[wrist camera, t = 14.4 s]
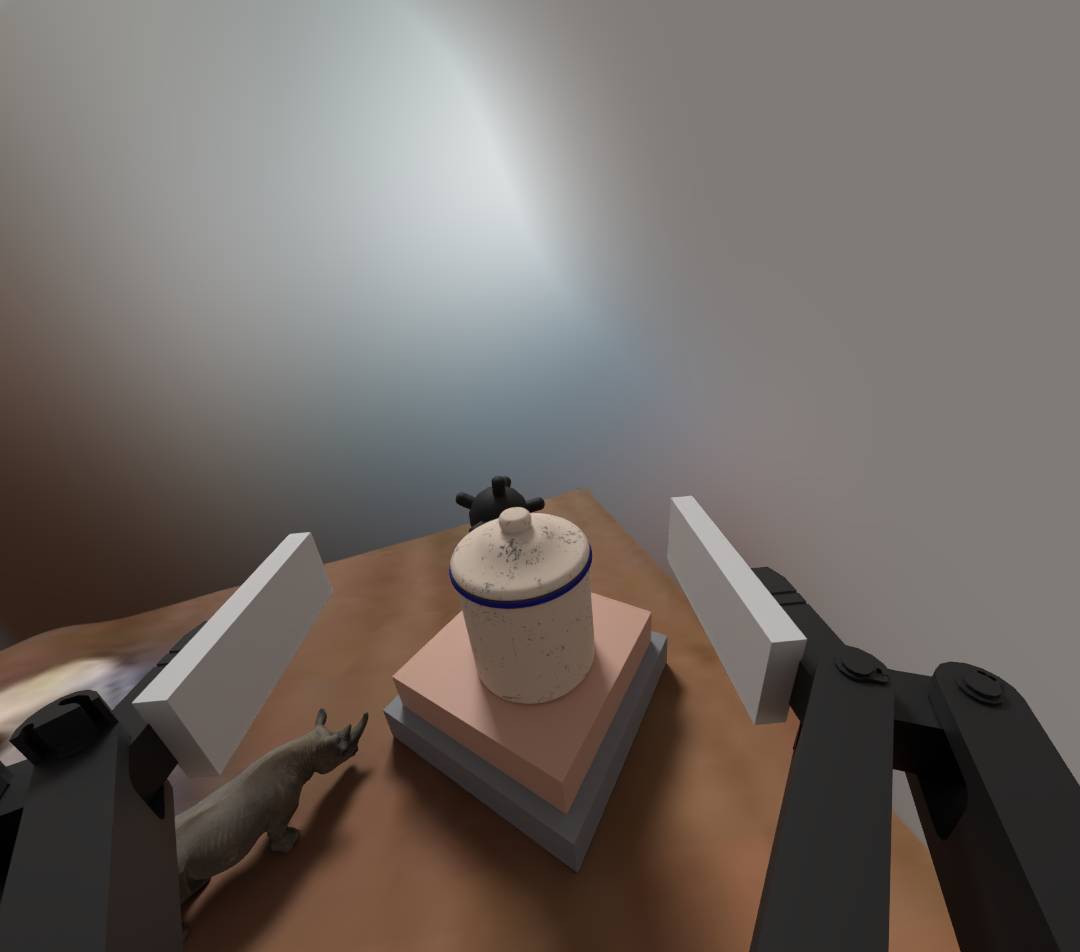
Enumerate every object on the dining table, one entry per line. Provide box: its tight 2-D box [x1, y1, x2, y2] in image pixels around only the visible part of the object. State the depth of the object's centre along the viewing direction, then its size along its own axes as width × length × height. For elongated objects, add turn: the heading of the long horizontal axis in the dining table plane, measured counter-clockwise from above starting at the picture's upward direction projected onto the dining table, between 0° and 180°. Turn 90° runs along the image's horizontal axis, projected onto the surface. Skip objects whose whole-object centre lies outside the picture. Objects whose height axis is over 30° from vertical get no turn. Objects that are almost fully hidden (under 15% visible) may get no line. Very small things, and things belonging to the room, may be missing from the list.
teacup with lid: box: [449, 507, 595, 704], centre depth 28 cm, size 12×9×12 cm
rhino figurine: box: [175, 708, 368, 941], centre depth 26 cm, size 4×14×6 cm, turn 139°
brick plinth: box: [383, 593, 667, 873], centre depth 32 cm, size 16×16×6 cm
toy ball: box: [456, 476, 545, 533], centre depth 52 cm, size 11×11×12 cm
